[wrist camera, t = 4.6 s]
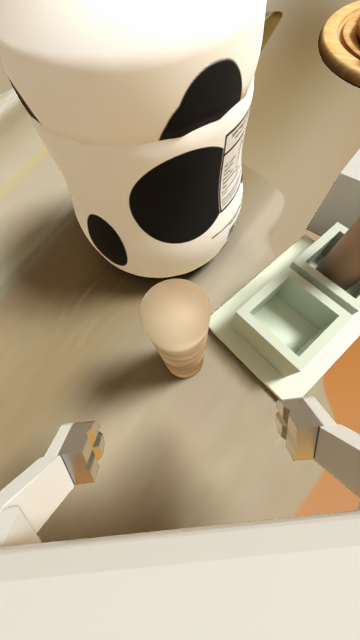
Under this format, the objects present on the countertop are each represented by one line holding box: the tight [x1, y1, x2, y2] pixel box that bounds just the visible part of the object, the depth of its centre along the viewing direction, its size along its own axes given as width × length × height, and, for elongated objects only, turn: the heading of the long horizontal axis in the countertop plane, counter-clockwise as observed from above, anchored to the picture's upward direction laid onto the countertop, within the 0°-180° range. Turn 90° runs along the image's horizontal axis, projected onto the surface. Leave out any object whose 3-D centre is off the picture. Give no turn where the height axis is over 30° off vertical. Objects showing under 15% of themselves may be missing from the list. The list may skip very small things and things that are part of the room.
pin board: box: [209, 216, 360, 400], centre depth 18 cm, size 16×11×13 cm
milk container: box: [0, 0, 267, 278], centre depth 21 cm, size 17×17×18 cm
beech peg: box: [140, 279, 211, 378], centre depth 17 cm, size 4×4×12 cm
